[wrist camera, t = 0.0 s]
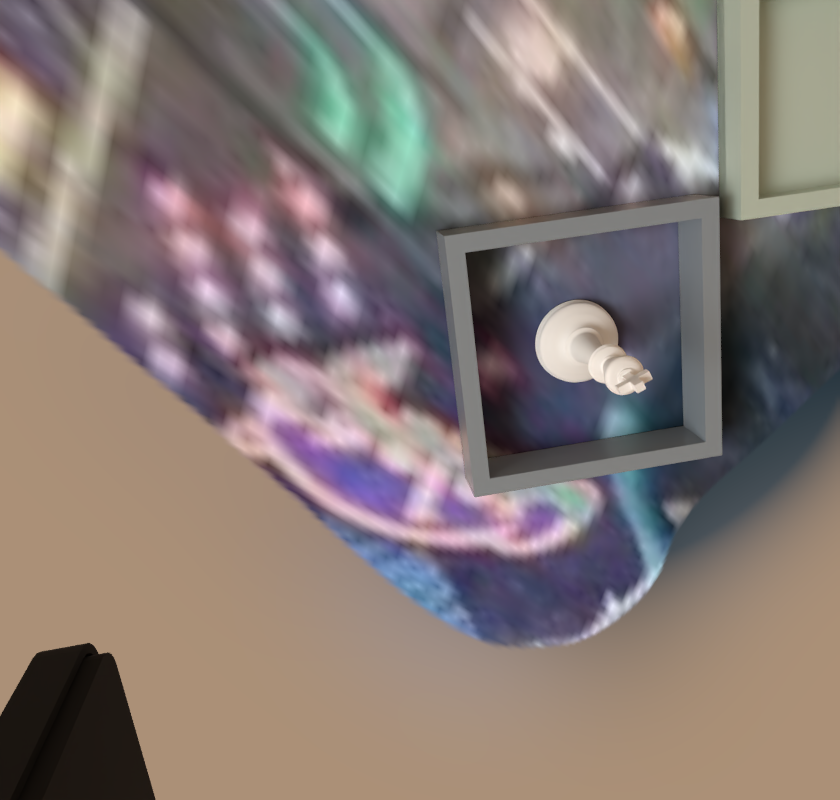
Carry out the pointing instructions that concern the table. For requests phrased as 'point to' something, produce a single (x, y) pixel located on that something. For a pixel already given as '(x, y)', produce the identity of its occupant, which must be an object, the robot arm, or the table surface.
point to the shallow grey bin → (696, 345)
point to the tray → (778, 106)
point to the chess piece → (587, 348)
